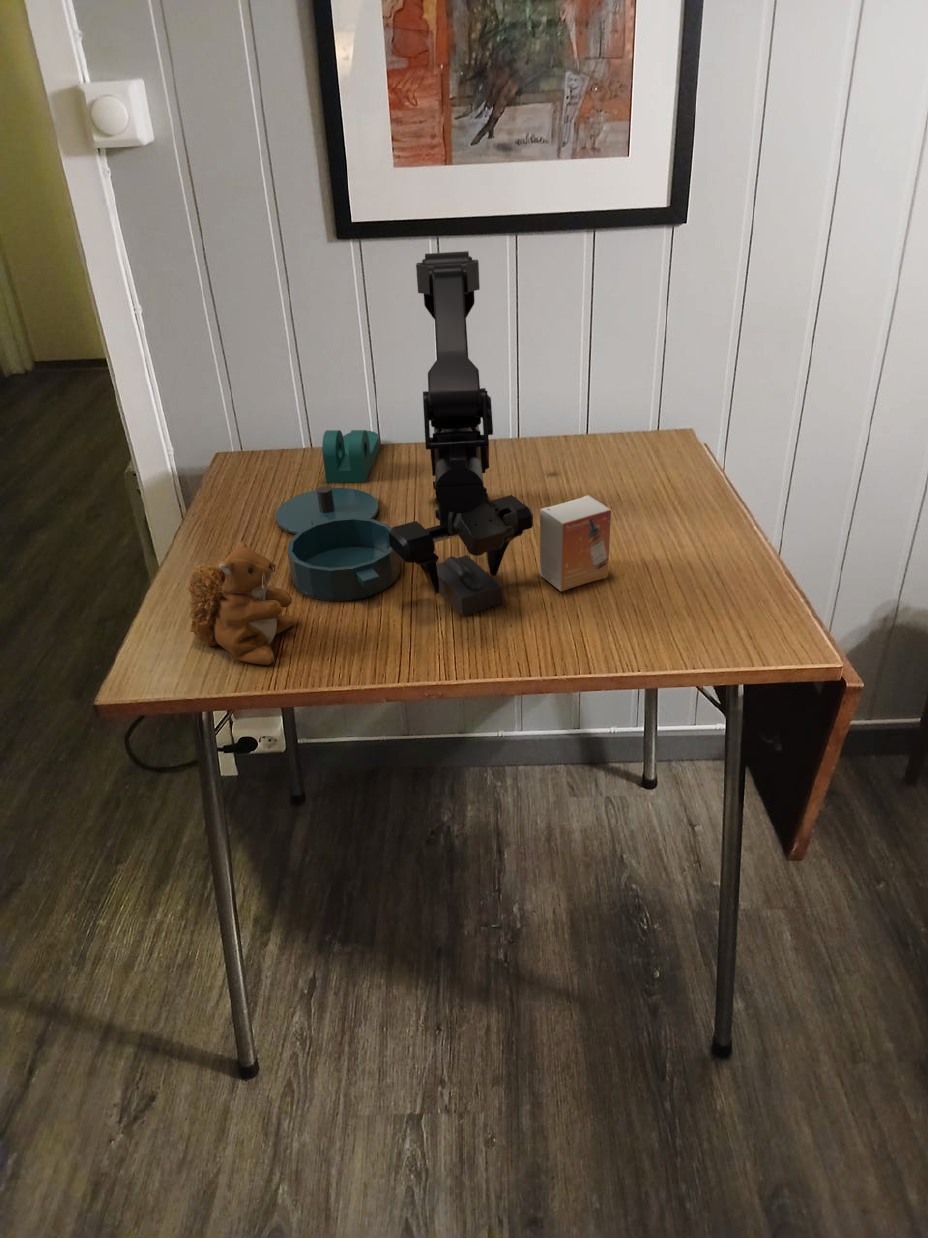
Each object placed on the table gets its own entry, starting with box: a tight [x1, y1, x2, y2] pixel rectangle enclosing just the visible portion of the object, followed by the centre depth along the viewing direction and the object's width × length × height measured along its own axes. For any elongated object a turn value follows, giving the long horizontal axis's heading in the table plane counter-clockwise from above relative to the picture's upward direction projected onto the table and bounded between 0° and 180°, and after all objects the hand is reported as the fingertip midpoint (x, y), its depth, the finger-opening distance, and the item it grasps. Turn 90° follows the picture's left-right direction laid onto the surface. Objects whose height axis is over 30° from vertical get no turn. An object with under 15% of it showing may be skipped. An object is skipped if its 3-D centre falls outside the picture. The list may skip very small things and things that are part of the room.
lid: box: [275, 485, 379, 535], centre depth 148 cm, size 16×16×5 cm
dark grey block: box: [436, 554, 503, 617], centre depth 126 cm, size 6×10×4 cm, turn 27°
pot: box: [286, 517, 401, 602], centre depth 132 cm, size 15×21×5 cm
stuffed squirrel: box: [188, 541, 295, 666], centre depth 117 cm, size 10×14×13 cm
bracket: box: [321, 429, 381, 483], centre depth 165 cm, size 18×7×8 cm, turn 174°
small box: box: [539, 494, 612, 592], centre depth 127 cm, size 8×6×10 cm
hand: (464, 583), depth 126 cm, fingers open, 8 cm apart
